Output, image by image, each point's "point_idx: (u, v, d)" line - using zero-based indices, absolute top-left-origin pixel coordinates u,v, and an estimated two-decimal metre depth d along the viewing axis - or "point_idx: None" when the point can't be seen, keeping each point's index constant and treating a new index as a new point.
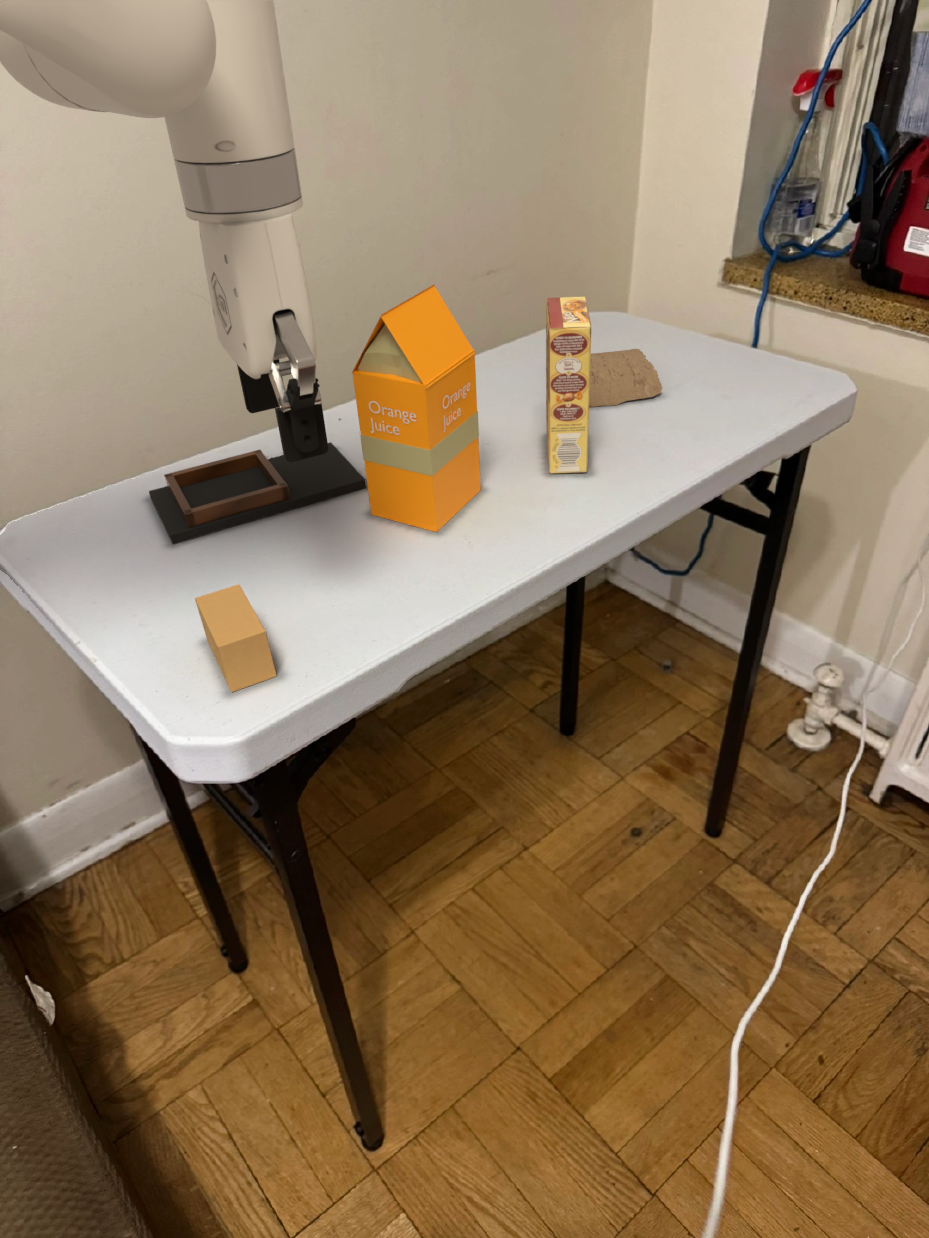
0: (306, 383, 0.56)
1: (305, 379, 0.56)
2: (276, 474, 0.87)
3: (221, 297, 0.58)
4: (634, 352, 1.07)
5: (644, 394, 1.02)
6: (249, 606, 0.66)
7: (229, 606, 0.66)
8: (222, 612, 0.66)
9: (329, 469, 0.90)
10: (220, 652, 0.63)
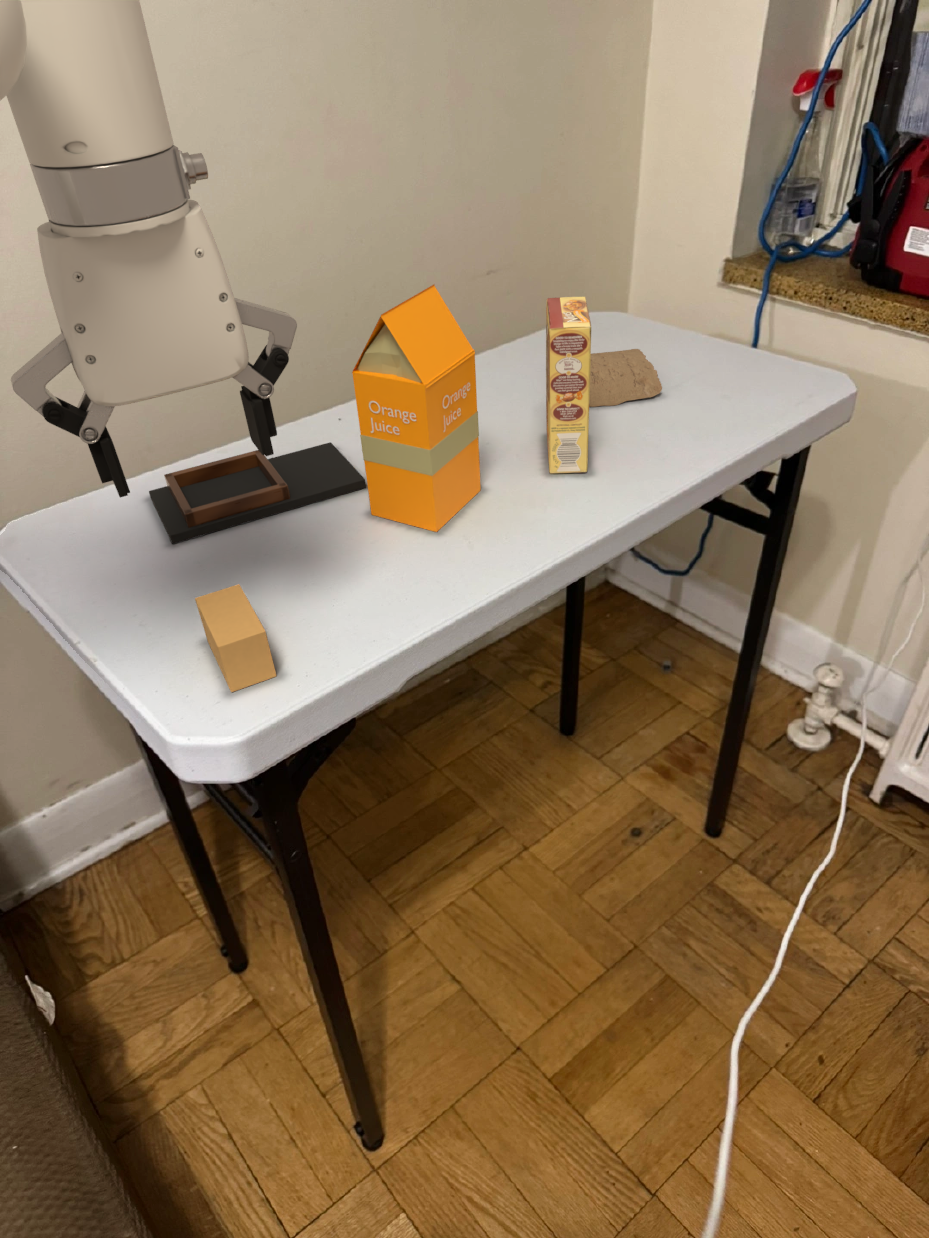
0: None
1: None
2: (276, 474, 0.87)
3: None
4: (634, 352, 1.07)
5: (644, 394, 1.02)
6: (249, 606, 0.66)
7: (229, 606, 0.66)
8: (222, 612, 0.66)
9: (329, 469, 0.90)
10: (220, 652, 0.63)
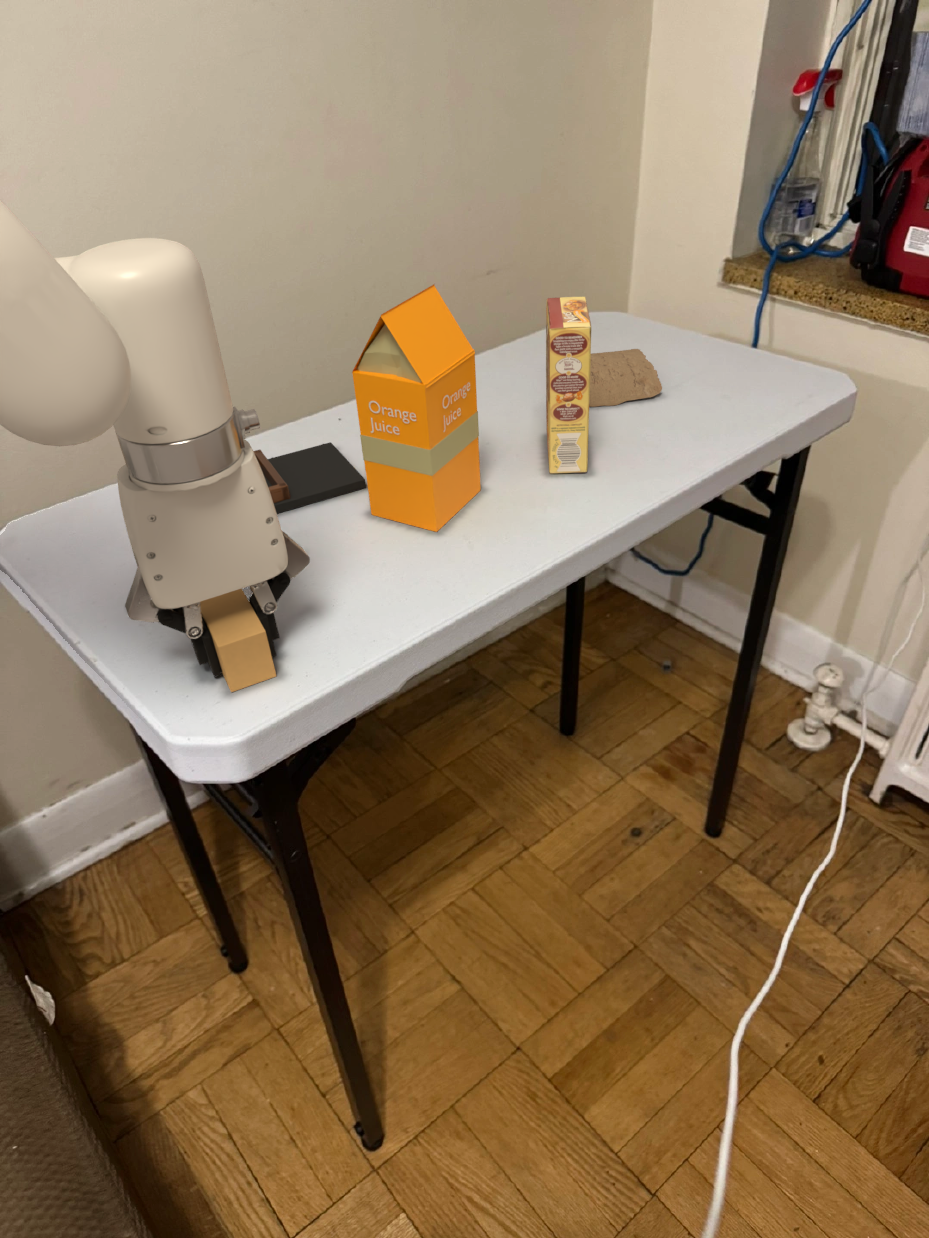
0: None
1: None
2: (276, 474, 0.87)
3: None
4: (634, 352, 1.07)
5: (644, 394, 1.02)
6: (249, 606, 0.66)
7: (229, 606, 0.66)
8: (222, 612, 0.66)
9: (329, 469, 0.90)
10: (220, 652, 0.63)
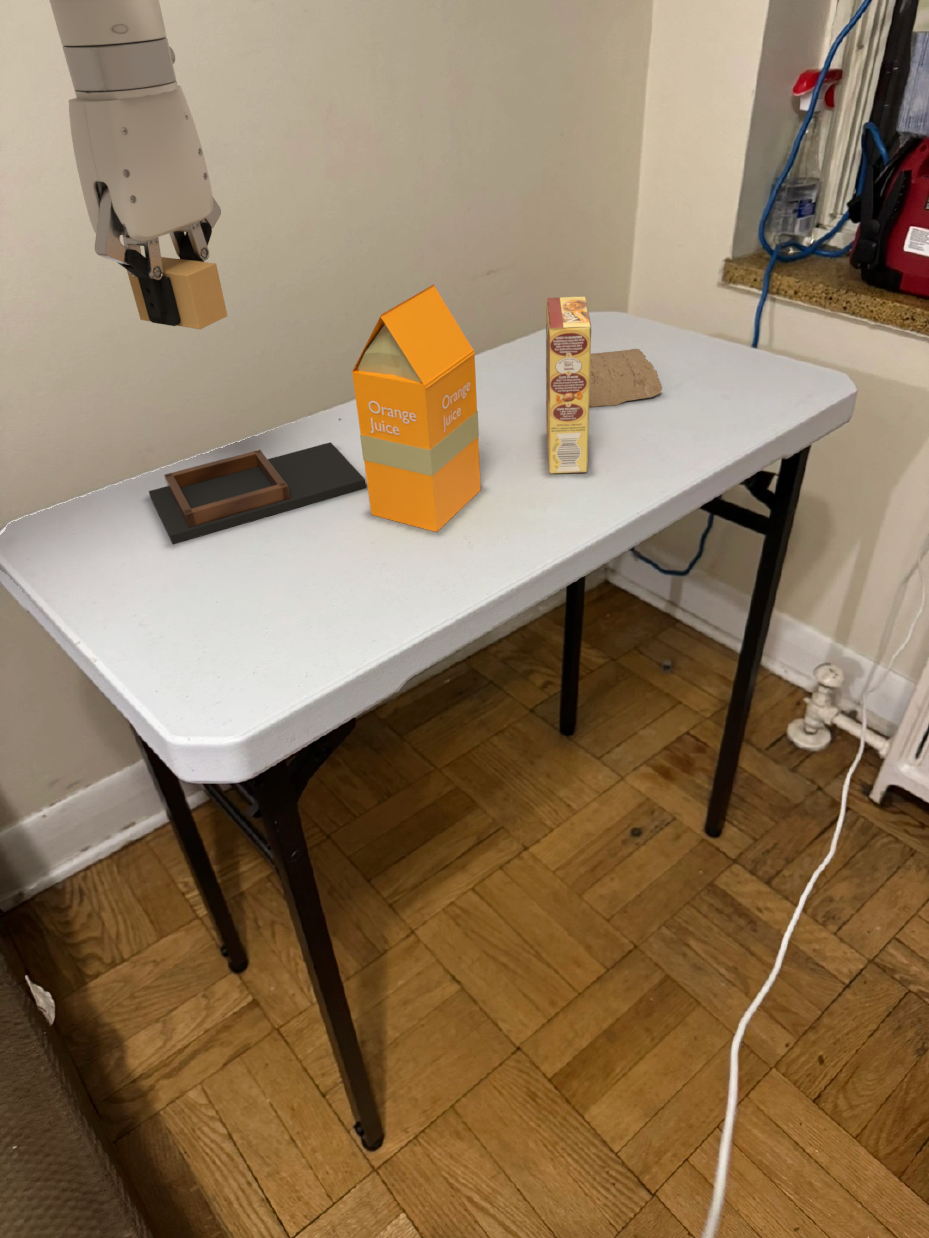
0: (117, 261, 0.69)
1: (112, 259, 0.69)
2: (276, 474, 0.87)
3: None
4: (634, 352, 1.07)
5: (644, 394, 1.02)
6: (183, 260, 0.75)
7: (165, 263, 0.74)
8: (163, 266, 0.74)
9: (329, 469, 0.90)
10: (189, 281, 0.72)
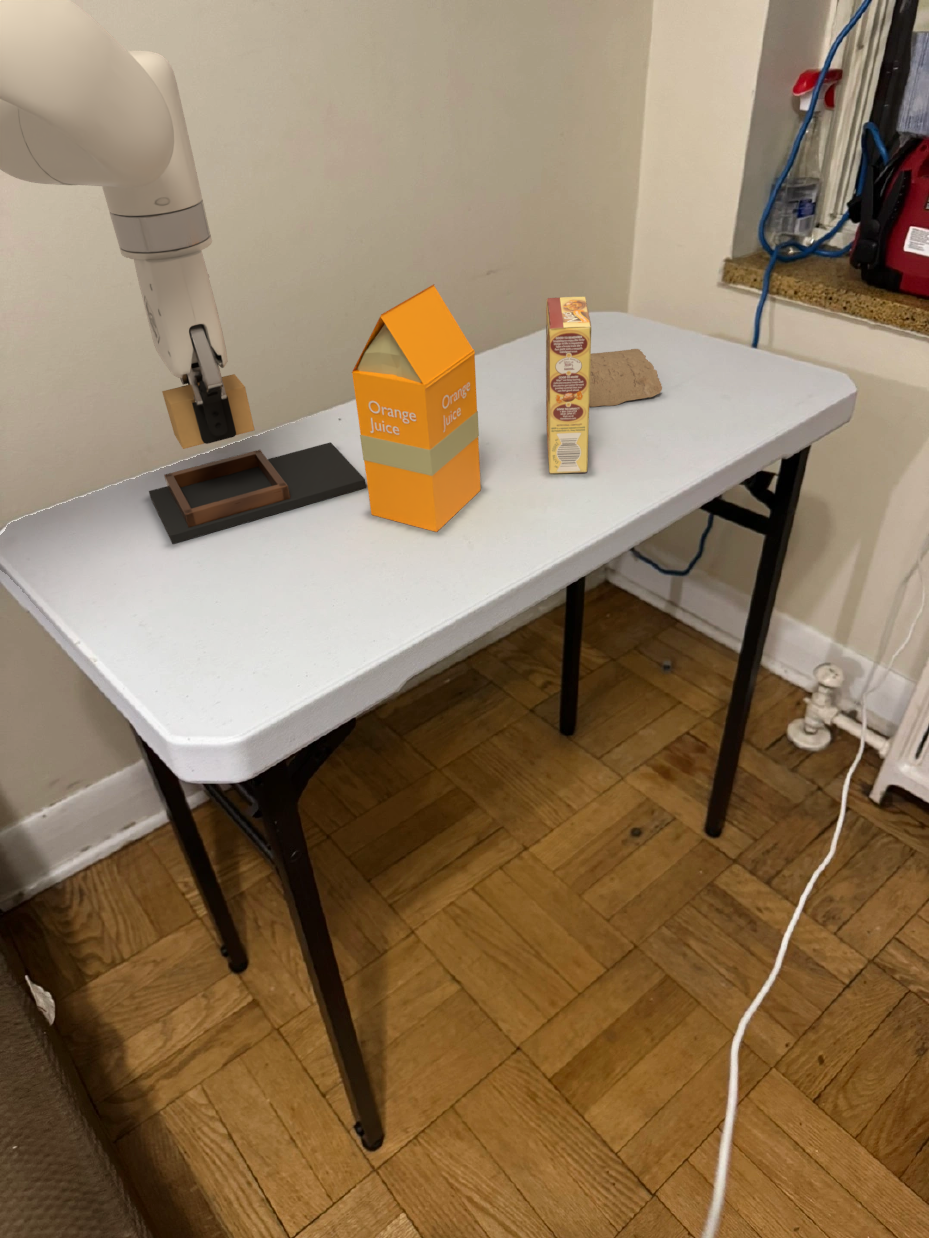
0: (213, 390, 0.76)
1: (213, 390, 0.76)
2: (276, 474, 0.87)
3: (151, 314, 0.75)
4: (634, 352, 1.07)
5: (644, 394, 1.02)
6: (198, 383, 0.82)
7: None
8: None
9: (329, 469, 0.90)
10: None
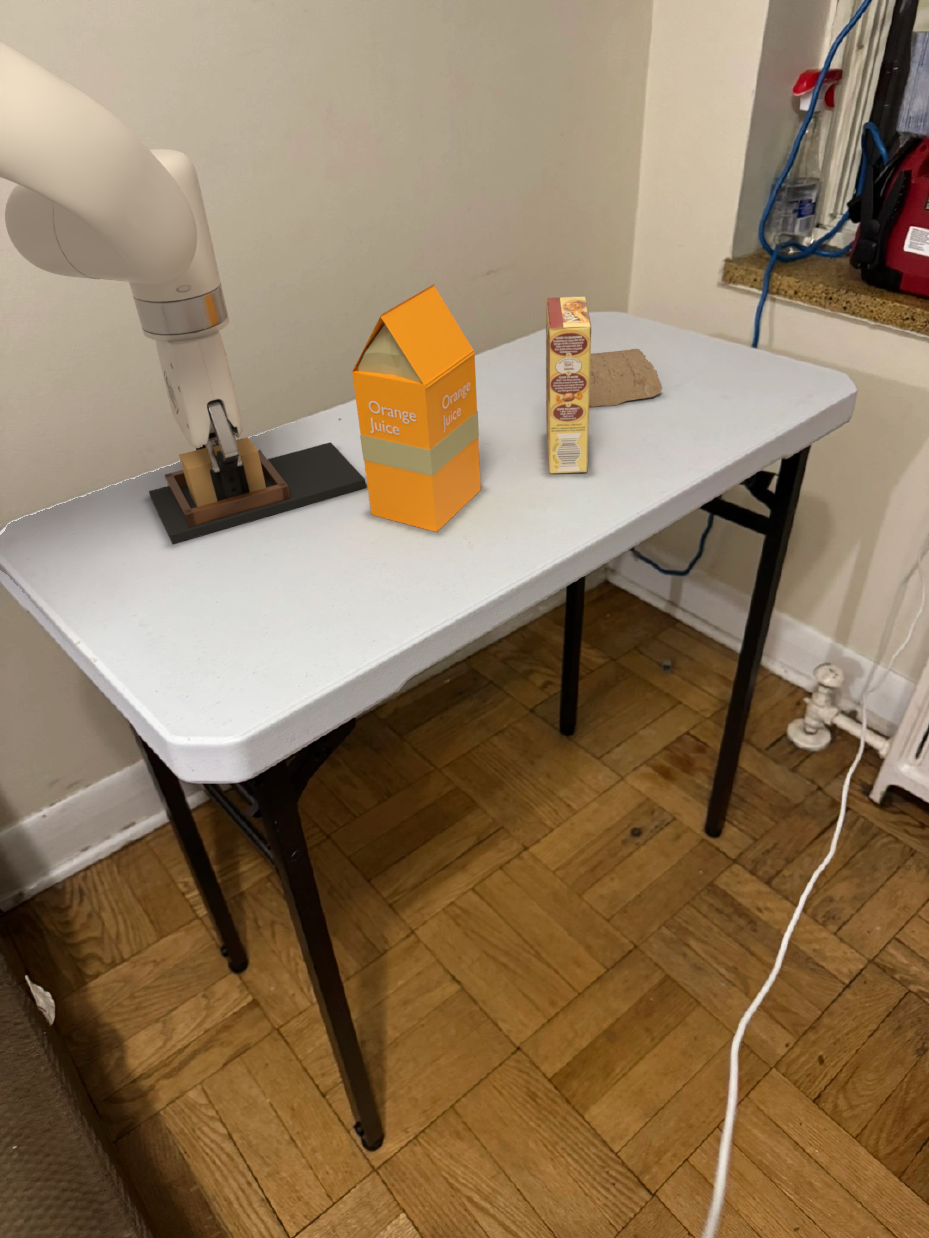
0: (230, 460, 0.79)
1: (229, 459, 0.79)
2: (276, 474, 0.87)
3: (171, 388, 0.79)
4: (634, 352, 1.07)
5: (644, 394, 1.02)
6: (213, 446, 0.86)
7: None
8: None
9: (329, 469, 0.90)
10: None
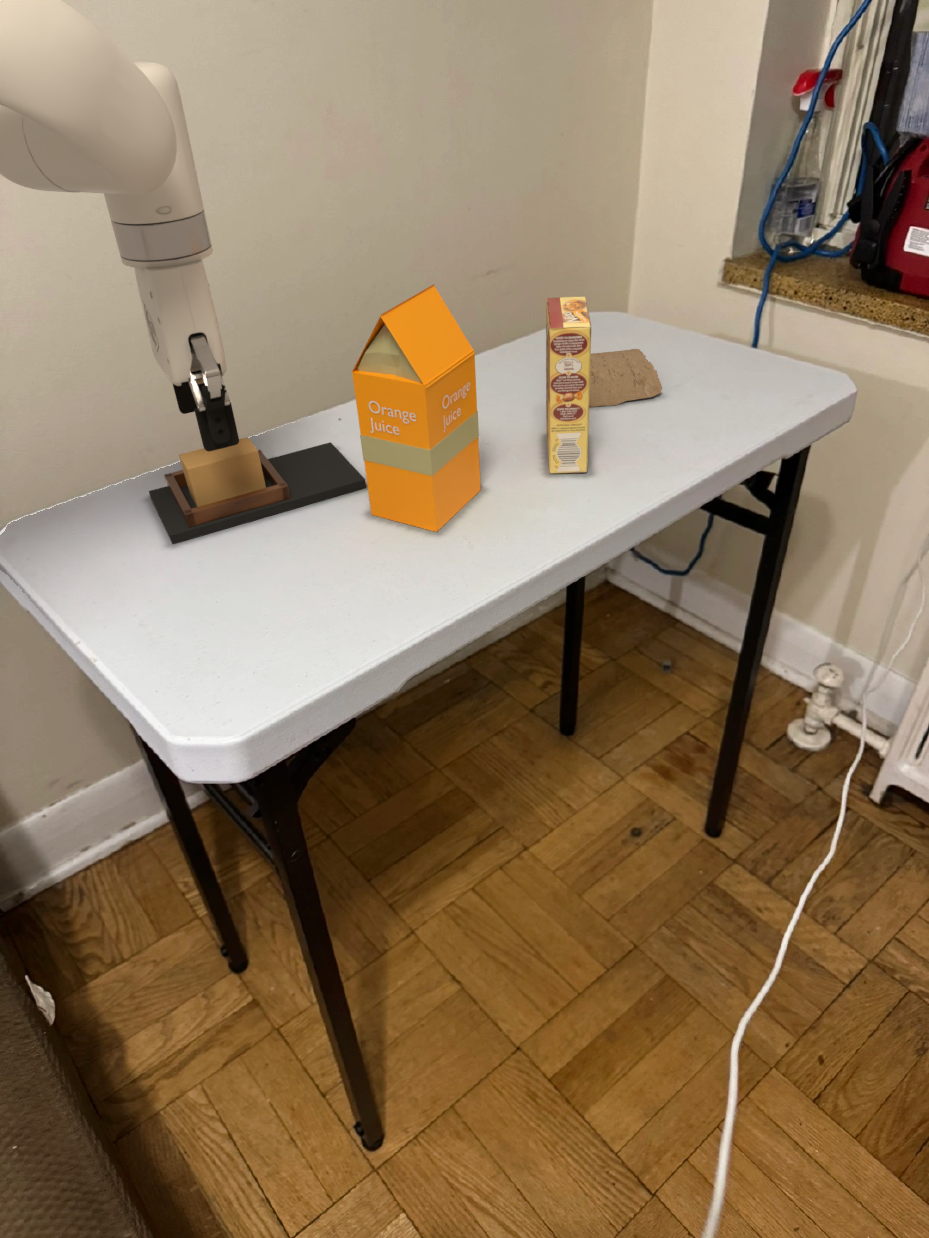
0: (214, 389, 0.73)
1: (213, 386, 0.73)
2: (276, 474, 0.87)
3: (151, 323, 0.75)
4: (634, 352, 1.07)
5: (644, 394, 1.02)
6: None
7: (208, 454, 0.85)
8: (215, 455, 0.84)
9: (329, 469, 0.90)
10: None
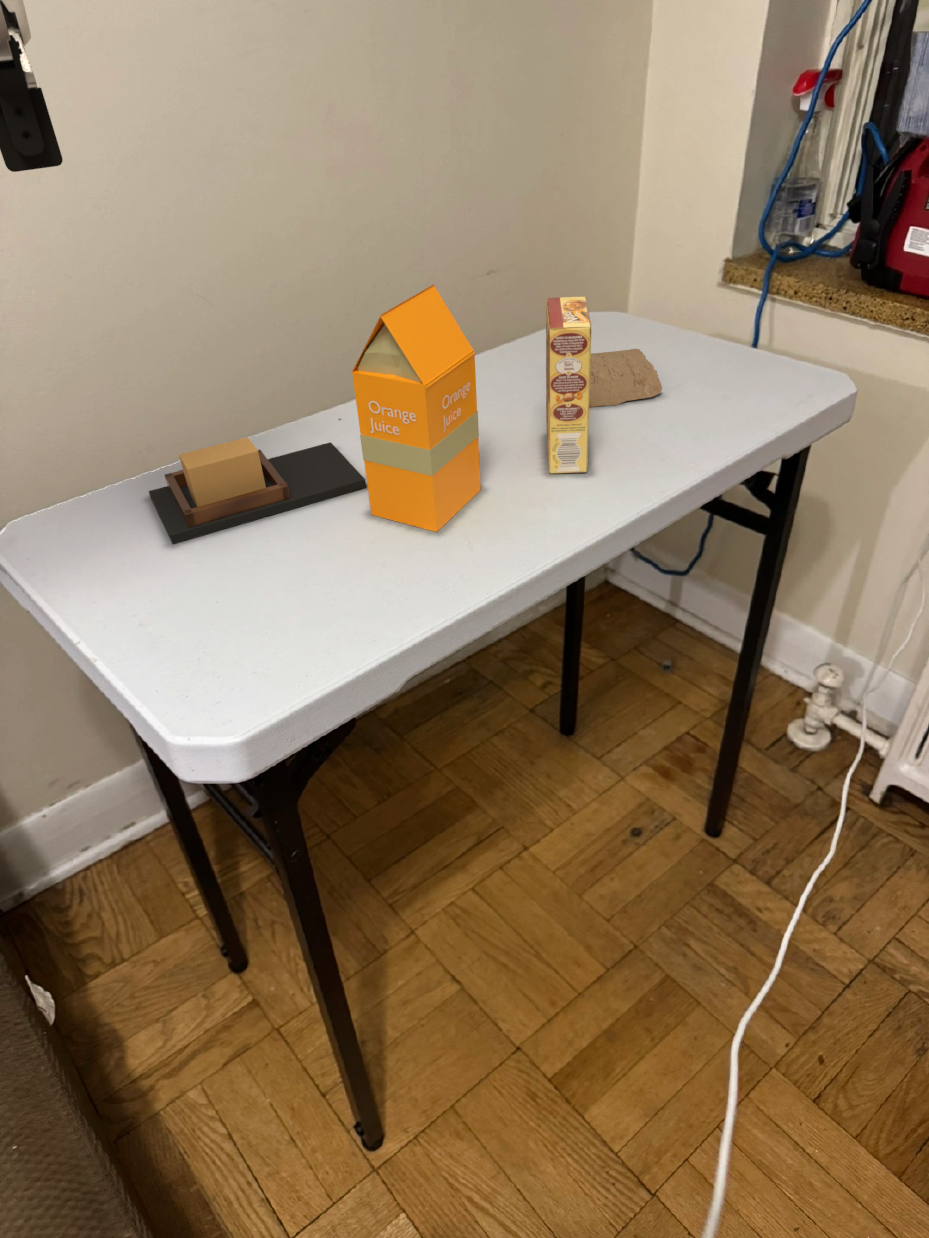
0: None
1: None
2: (276, 474, 0.87)
3: None
4: (634, 352, 1.07)
5: (644, 394, 1.02)
6: (213, 446, 0.86)
7: (208, 454, 0.85)
8: (215, 455, 0.84)
9: (329, 469, 0.90)
10: None
